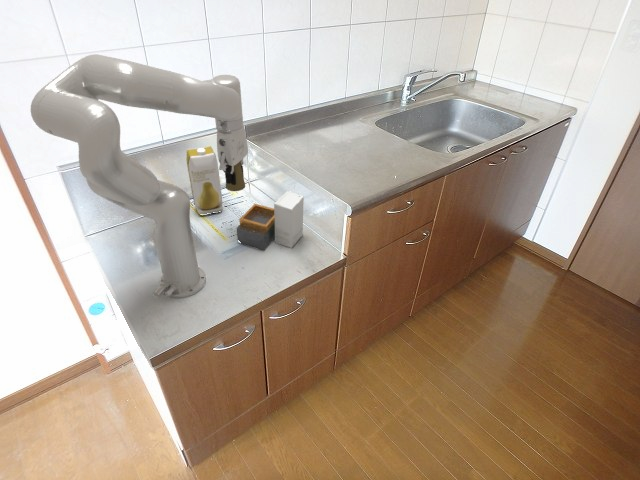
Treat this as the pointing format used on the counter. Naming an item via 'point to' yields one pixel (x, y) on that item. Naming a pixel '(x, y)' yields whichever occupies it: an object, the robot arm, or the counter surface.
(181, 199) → the robot arm
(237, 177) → the olive rounded tall piece
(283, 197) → the skincare box
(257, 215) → the grey open box
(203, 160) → the juice carton
